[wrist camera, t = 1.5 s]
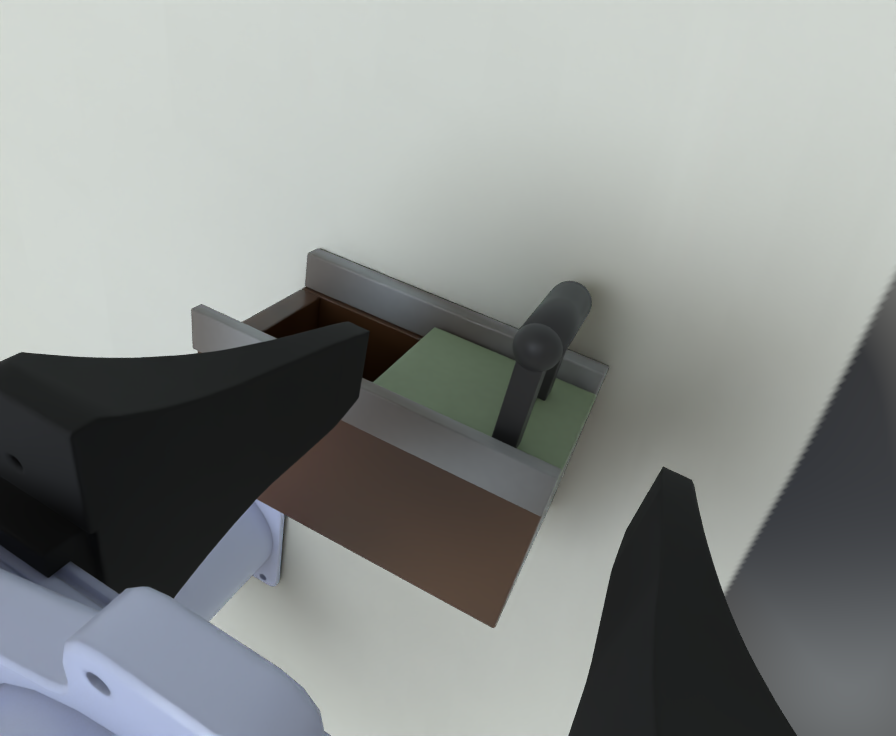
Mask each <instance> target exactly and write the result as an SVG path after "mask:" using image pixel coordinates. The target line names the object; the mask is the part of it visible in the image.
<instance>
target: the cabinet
mask: <svg viewBox="0 0 896 736" xmlns="http://www.w3.org/2000/svg"><path fill="white" fill-rule="evenodd" d="M305 286H306V287H304V288H302V290H299V291H297V292H295V293H294V294H292V295H290V296H288V297H286V298H284V299H283V300H281V301H279V302H277V303H275V304H274V305H272V306H270V307H268V308H266V309H265V310H263V311H261V312H259V313H257V314H256V315H254V316H252V317H250V318H248V319H247V320H245V321H243V322H240V321H238V320H235V319H233V318H231V317H229V316H227V315H225V314H222V313H220V312H218V311H216V310H214V309H211V308H209V307H207V306H205V305H203V304H200V305H198V306H196V307H194V308H192V309H191V316H192V341H193V348H194V349H196V350H198V353H204V352H212V351H219V350H225V349H231V348H236V347H241V346H245V345H250V344H255V343H260V342H265V341H269V340H274V339H278V338H282V337H286V336H290V335H294V334H298V333H302V332H306V331H309V330H313V329H317V328H321V327H325V326H329V325H333V324H337V323H342V322H348V321H349V322H351V323H353V324H355V325H357V326H359V327H362V328H364V329H366V330H368V331H370V333H369V339H368V345H367V351H366V357H365V364H364V370H363V376H362V382H361V388H360V394H359V398H358V400H357V401H356V402H355V403H354V405H353V406H352V407H351V408H350V410H349V411H348V412H347V413H346V414H345V416H344V417H343V418H342V419H341V420H340V421H339V423H338V424H337V425H336V426H335V427H334V428H333V429H332V430H331V431H330V432H329V433H328V434H327V435H326V436H324V437H323V438H322V439H321V440H320V441H319V442H318V443H317V444H316V445H315V446H314V447H312V448H311V449H310V450H309V451H308V452H307V453H306V454H305V455H303V456H302V457H301V458H300V459H299V460H298V461H297V462H296V463H295V464H293V465H292V466H291V467H290V468H289V469H288V470H287V471H286V472H284V473H283V474H282V475H281V476H280V477H279V478H278V479H277V480H276V481H274V482H273V483H272V484H271V485H270V486H269V487H268V488H267V489H266V490H265V491H264V492H263V493H262V494H261V495H260V496H259V497H258V498H257V500H259V501H260V502H262V503H264V504H266V505H268V506H270V507H271V508H273V509H275V510H277V511H279V512H281V513H282V514H284V515H286V516H288V517H290V518H292V519H294V520H295V521H297V522H299V523H301V524H303V525H305V526H306V527H308V528H310V529H312V530H314V531H316V532H317V533H319V534H321V535H323V536H325V537H327V538H328V539H330V540H332V541H334V542H336V543H338V544H339V545H341V546H343V547H345V548H347V549H349V550H350V551H352V552H354V553H356V554H358V555H360V556H361V557H363V558H365V559H367V560H369V561H371V562H372V563H374V564H376V565H378V566H380V567H382V568H383V569H385V570H387V571H389V572H391V573H393V574H394V575H396V576H398V577H400V578H402V579H404V580H405V581H407V582H409V583H411V584H413V585H415V586H416V587H418V588H420V589H422V590H424V591H426V592H427V593H429V594H431V595H433V596H435V597H437V598H438V599H440V600H442V601H444V602H446V603H448V604H449V605H451V606H453V607H455V608H457V609H459V610H460V611H462V612H464V613H466V614H468V615H470V616H472V617H473V618H475V619H477V620H479V621H481V622H483V623H484V624H486V625H488V626H490V627H492V628H494V627H496V625H497V622H498V620H499V618H500V616H501V613H502V611H503V609H504V607H505V605H506V602H507V600H508V598H509V596H510V593H511V591H512V589H513V587H514V585H515V582H516V580H517V578H518V576H519V573H520V571H521V569H522V567H523V565H524V562H525V560H526V558H527V556H528V553H529V551H530V549H531V547H532V545H533V542H534V540H535V538H536V536H537V533H538V531H539V529H540V527H541V524H542V522H543V520H544V518H545V516H546V513H547V511H548V509H549V507H550V504H551V502H552V500H553V497H554V495H555V493H556V490H557V488H558V486H559V483H560V481H561V479H562V476H563V474H564V472H565V469H566V467H567V465H568V462H569V460H570V458H571V455H572V453H573V451H574V448H575V446H576V444H577V441H578V439H579V437H580V434H581V432H582V430H583V427H584V425H585V423H586V421H585V423H584V425H583V427H582V430H581V432H580V434H579V436H578V438H577V441H576V443H575V445H574V447H573V449H572V452H571V454H570V456H569V458H568V460H567V462H566V465H565V467H564V469H563V471H562V473H561V469H560V468H558V467H556V466H554V465H551V464H549V463H547V462H545V461H543V460H540V459H538V458H536V457H534V456H532V455H530V454H527V453H525V452H523V451H521V450H519V449H517V448H514V447H512V446H510V445H508V444H506V443H503V442H501V441H499V440H497V439H495V438H493V437H490V436H488V435H486V434H484V433H482V432H479V431H477V430H475V429H473V428H471V427H469V426H466V425H464V424H462V423H460V422H458V421H456V420H453V419H451V418H449V417H447V416H445V415H442V414H440V413H438V412H436V411H434V410H432V409H429V408H427V407H425V406H423V405H421V404H418V403H416V402H414V401H412V400H410V399H408V398H405V397H403V396H401V395H399V394H397V393H395V392H392V391H390V390H388V389H386V388H384V387H381V386H379V385H377V384H375V383H373V382H374V381H375V380H376V379H377V378H378V377H379V376H381V375H382V374H383V373H384V372H385V371H386V370H387V369H388V368H389V367H391V366H392V365H393V364H394V363H395V362H396V361H397V360H398V359H400V358H401V357H402V356H403V355H404V354H405V353H406V352H407V351H408V350H410V349H411V348H412V347H413V346H414V345H415V344H416V343H417V342H419V341H420V340H421V339H422V338H423V337H424V336H425V335H426V334H427V333H429V332H430V331H431V330H432V329H433V328H434V327H436V328H438V329H441V330H443V331H446V332H448V333H450V334H453V335H455V336H458V337H460V338H462V339H465V340H467V341H469V342H472V343H474V344H477V345H479V346H481V347H484V348H486V349H488V350H491V351H493V352H496V353H498V354H500V355H503V356H505V357H508V358H510V359H512V360H515V361H516V359H515V357H514V354H513V348H512V345H513V339H514V337H515V335H516V333H517V332H518V330H519V329H516V328H514V327H511V326H509V325H506V324H504V323H502V322H499V321H497V320H494V319H492V318H489V317H487V316H484V315H482V314H479V313H477V312H474V311H472V310H469V309H467V308H465V307H462V306H460V305H457V304H455V303H452V302H450V301H447V300H445V299H442V298H440V297H437V296H435V295H432V294H430V293H428V292H425V291H423V290H420V289H418V288H415V287H413V286H410V285H408V284H405V283H403V282H400V281H398V280H395V279H393V278H391V277H388V276H386V275H383V274H381V273H378V272H376V271H373V270H371V269H368V268H366V267H363V266H361V265H358V264H356V263H354V262H351V261H349V260H346V259H344V258H341V257H339V256H336V255H334V254H331V253H329V252H326V251H324V250H321V249H315V250H313V251H311V252H309V253H308V255H307V268H306V280H305ZM608 369H609V366H607V365H605V364H603V363H600V362H598V361H595V360H593V359H590V358H588V357H585V356H583V355H580V354H578V353H575V352H573V351H571V350H568V349H567V350H566V352H565V355H564V358H563V360H562V363H561V366H560V368H559V371H558V374H557V376H556V378H558V379H560V380H562V381H565V382H567V383H569V384H572V385H574V386H577V387H579V388H581V389H584V390H586V391H588V392H591V393H593V394H595V395H596V397H597V395H598V392H599V390H600V388H601V385H602V383H603V381H604V378H605V376H606V374H607V371H608ZM595 399H596V398H595ZM594 402H595V401H594ZM593 404H594V403H593ZM592 406H593V405H592ZM591 409H592V408H591ZM590 411H591V410H590ZM589 413H590V412H589ZM588 416H589V414H588ZM588 416H587V418H588ZM586 420H587V419H586ZM560 474H561V476H560ZM559 476H560V478H559ZM558 479H559V480H558ZM557 481H558V482H557ZM556 483H557V484H556ZM555 486H556V487H555ZM554 488H555V489H554ZM553 490H554V491H553Z"/></svg>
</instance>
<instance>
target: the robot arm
mask: <svg viewBox="0 0 896 736" xmlns="http://www.w3.org/2000/svg"><path fill="white" fill-rule="evenodd" d="M369 333H370V331H368V330H366V329H364V328H362V327H359V326H357V325H355V324H353V323H351V322H349V321H348V322H342V323H337V324H333V325H329V326H325V327H321V328H317V329H313V330H309V331H306V332H302V333H298V334H294V335H290V336H286V337H282V338H278V339H274V340H269V341H265V342H260V343H255V344H250V345H245V346H241V347H236V348H231V349H225V350H219V351H212V352H204V353H196V354H188V355H177V356H159V357H142V358H93V357H72V356H59V355H46V354H34V353H24V352H21V353H18V354H16V355H14V356H12V357H9V358H7V359H5V360H3V361H0V736H331V735H329V734H328V733H326V732H325V731H324V727H323V723H322V718H321V713H320V710H319V709H318V707H317V706H316V704H315V703H314V702H313V700H312V699H311V697H310V696H309V695H308V693H307V692H306V691H305V689H304V688H303V687H302V686H301V685H299V684H298V683H297V682H296V681H295V680H293V679H292V678H291V677H290V676H289V675H287V674H286V673H285V672H284V671H283V670H281V669H280V668H279V667H277V666H276V665H274V664H273V663H271V662H270V661H268V660H266V659H265V658H263V657H262V656H260V655H259V654H257V653H256V652H254V651H253V650H251V649H250V648H248V647H247V646H245V645H243V644H242V643H240V642H239V641H237V640H236V639H234V638H233V637H231V636H230V635H228V634H227V633H225V632H224V631H222V630H220V629H219V628H217V627H216V626H214V625H213V624H211V623H210V622H209V621H210V620H211V619H212V618H213V617H214V616H215V614H216V613H217V612H218V611H219V610H220V609H221V608H222V607H223V606H224V605H225V604H226V603H227V602H228V601H229V600H230V599H231V598H232V596H233V595H234V594H235V593H236V592H237V591H238V590H239V589H240V588H241V587H242V586H243V585H244V584H245V583H246V582H247V581H248V579H249V578H250V577H251V576H254V577H256V578H258V579H259V580H261V581H263V582H264V583H266V584H268V585H270V586H276V585H277V584H278V583H279V580H280V567H281V554H282V541H283V527H284V514H282V513H281V512H279V511H277V510H275V509H273V508H271V507H270V506H268V505H266V504H264V503H262V502H260V501H259V500H257V498H258V497H259V496H260V495H261V494H262V493H263V492H264V491H265V490H266V489H267V488H268V487H269V486H270V485H271V484H272V483H273V482H274V481H276V480H277V479H278V478H279V477H280V476H281V475H282V474H283V473H284V472H286V471H287V470H288V469H289V468H290V467H291V466H292V465H293V464H295V463H296V462H297V461H298V460H299V459H300V458H301V457H302V456H303V455H305V454H306V453H307V452H308V451H309V450H310V449H311V448H312V447H314V446H315V445H316V444H317V443H318V442H319V441H320V440H321V439H322V438H323V437H324V436H326V435H327V434H328V433H329V432H330V431H331V430H332V429H333V428H334V427H335V426H336V425H337V424H338V423H339V421H340V420H341V419H342V418H343V417H344V416H345V414H346V413H347V412H348V411H349V410H350V408H351V407H352V406H353V405H354V403H355V402H356V401H357V400H358V398H359V394H360V388H361V382H362V376H363V370H364V364H365V357H366V351H367V345H368V339H369ZM568 736H797V735H796V733H795V732H794V730H793V729H792V727H791V726H790V724H789V723H788V721H787V719H786V718H785V716H784V714H783V713H782V711H781V710H780V708H779V706H778V705H777V703H776V701H775V700H774V698H773V696H772V694H771V692H770V691H769V689H768V687H767V685H766V684H765V682H764V680H763V678H762V676H761V675H760V673H759V671H758V669H757V667H756V666H755V664H754V662H753V660H752V658H751V656H750V654H749V652H748V650H747V648H746V646H745V644H744V641H743V640H742V637H741V635H740V633H739V631H738V628H737V626H736V624H735V622H734V619H733V617H732V614H731V612H730V609H729V607H728V604H727V602H726V599H725V596H724V593H723V591H722V588H721V585H720V582H719V579H718V576H717V573H716V570H715V567H714V564H713V561H712V557H711V554H710V551H709V547H708V544H707V540H706V536H705V533H704V529H703V525H702V520H701V516H700V512H699V507H698V503H697V498H696V492H695V487H694V484H693V482H692V480H691V479H689V478H686V477H684V476H682V475H680V474H678V473H676V472H673V471H671V470H669V469H667V468H665V467H663V468H662V469H661V471H660V473H659V475H658V476H657V478H656V480H655V481H654V483H653V485H652V487H651V488H650V490H649V492H648V493H647V495H646V497H645V499H644V500H643V502H642V504H641V505H640V507H639V509H638V511H637V512H636V514H635V516H634V517H633V519H632V521H631V523H630V524H629V526H628V528H627V529H626V532H625V534H624V537H623V540H622V543H621V545H620V548H619V551H618V554H617V556H616V559H615V562H614V565H613V568H612V571H611V576H610V580H609V584H608V589H607V593H606V598H605V602H604V607H603V612H602V616H601V621H600V626H599V630H598V635H597V639H596V644H595V649H594V653H593V658H592V662H591V666H590V670H589V674H588V677H587V681H586V685H585V688H584V691H583V694H582V697H581V700H580V703H579V706H578V709H577V712H576V715H575V718H574V721H573V724H572V727H571V730H570V733H569V735H568Z"/></svg>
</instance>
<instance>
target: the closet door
mask: <svg viewBox="0 0 896 736" xmlns="http://www.w3.org/2000/svg"><path fill="white" fill-rule="evenodd" d="M591 306H592V300H591V296H590V293H589V291H588V290H587V289H586V287H585V286H583V285H582V284H580V283H578V282H575V281H565V282H562V283H560V284H558V285H556V286H555V287H554V288H553V289H552V290H551V291H550V293H549V294H548V295H547V296H546V298H545V299H544V300H543V301H542V302H541V304H540V305H539V306H538V307H537V308H536V310H535V311H534V312H533V313H532V315H531V316H530V317H529V318H528V319H527V321H526V322H525V323H524V324H523V326H522V327H521V328H520V329H519V330H518V332H517V333H516V335H515V337H514V339H513V345H512V348H513V354H514V357H515V359H516V361H515V360H512V359H510V358H508V357H505V356H503V355H500V354H498V353H496V352H493V351H491V350H488V349H486V348H484V347H481V346H479V345H477V344H474V343H472V342H469V341H467V340H465V339H462V338H460V337H458V336H455V335H453V334H450V333H448V332H446V331H443V330H441V329H438V328H436V327H434V328H433V329H432V330H431V331H430V332H429V333H427V334H426V335H425V336H424V337H423V338H422V339H421V340H420V341H419V342H417V343H416V344H415V345H414V346H413V347H412V348H411V349H410V350H408V351H407V352H406V353H405V354H404V355H403V356H402V357H401V358H400V359H398V360H397V361H396V362H395V363H394V364H393V365H392V366H391V367H389V368H388V369H387V370H386V371H385V372H384V373H383V374H382V375H381V376H379V377H378V378H377V379H376V380H375V381H374V382H373V383H375V384H377V385H379V386H381V387H384V388H386V389H388V390H390V391H392V392H395V393H397V394H399V395H401V396H403V397H405V398H408V399H410V400H412V401H414V402H416V403H418V404H421V405H423V406H425V407H427V408H429V409H432V410H434V411H436V412H438V413H440V414H442V415H445V416H447V417H449V418H451V419H453V420H456V421H458V422H460V423H462V424H464V425H466V426H469V427H471V428H473V429H475V430H477V431H479V432H482V433H484V434H486V435H488V436H490V437H493V438H495V439H497V440H499V441H501V442H503V443H506V444H508V445H510V446H512V447H514V448H517V449H519V450H521V451H523V452H525V453H527V454H530V455H532V456H534V457H536V458H538V459H540V460H543V461H545V462H547V463H549V464H551V465H554V466H556V467H558V468H560V469H561V473H562V471H563V469H564V467H565V465H566V462H567V460H568V458H569V456H570V454H571V452H572V449H573V447H574V445H575V443H576V441H577V438H578V436H579V434H580V432H581V430H582V427H583V425H584V423H585V421H586V419H587V416H588V414H589V412H590V410H591V408H592V405H593V403H594V401H595V398H596V395H595V394H593V393H591V392H588V391H586V390H584V389H581V388H579V387H577V386H574V385H572V384H569V383H567V382H565V381H562V380H560V379H558V378H556V376H557V374H558V371H559V368H560V366H561V363H562V360H563V358H564V355H565V352H566V350H567V348H568V346H569V345H570V343H571V341H572V340H573V338H574V337H575V335H576V333H577V332H578V330H579V328H580V327H581V325H582V324H583V322H584V320H585V319H586V317H587V316H588V314H589V312H590V309H591ZM560 476H561V474H560ZM560 476H559V478H560ZM558 480H559V479H558ZM557 482H558V481H557ZM556 484H557V483H556ZM555 487H556V486H555ZM554 489H555V488H554ZM553 491H554V490H553Z"/></svg>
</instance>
